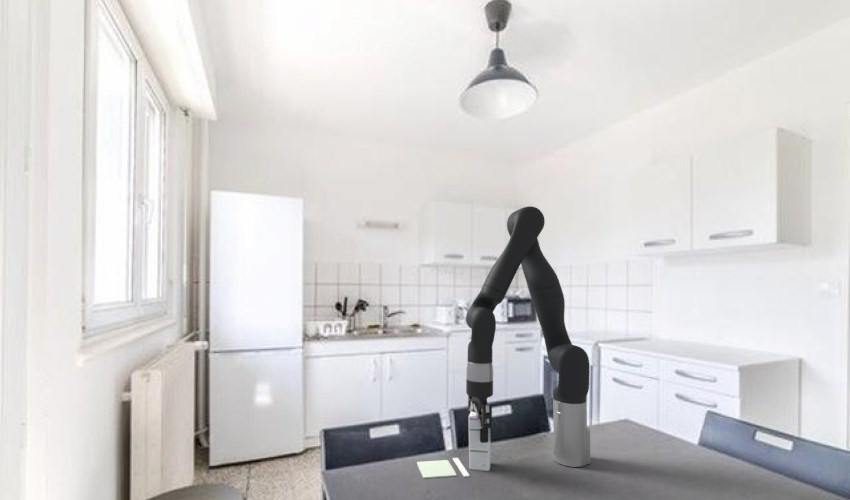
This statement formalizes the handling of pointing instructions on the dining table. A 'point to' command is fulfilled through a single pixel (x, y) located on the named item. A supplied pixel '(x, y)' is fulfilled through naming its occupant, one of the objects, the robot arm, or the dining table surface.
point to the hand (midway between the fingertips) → (479, 436)
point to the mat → (436, 469)
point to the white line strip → (461, 467)
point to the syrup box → (478, 446)
